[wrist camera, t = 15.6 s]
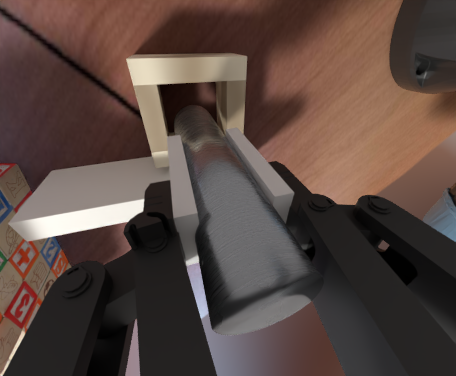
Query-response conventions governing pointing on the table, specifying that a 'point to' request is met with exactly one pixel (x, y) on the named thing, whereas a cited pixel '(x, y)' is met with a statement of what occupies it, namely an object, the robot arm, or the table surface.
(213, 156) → the dowel
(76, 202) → the wall
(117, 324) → the robot arm
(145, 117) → the hole block
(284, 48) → the table surface
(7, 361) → the stack of blocks
